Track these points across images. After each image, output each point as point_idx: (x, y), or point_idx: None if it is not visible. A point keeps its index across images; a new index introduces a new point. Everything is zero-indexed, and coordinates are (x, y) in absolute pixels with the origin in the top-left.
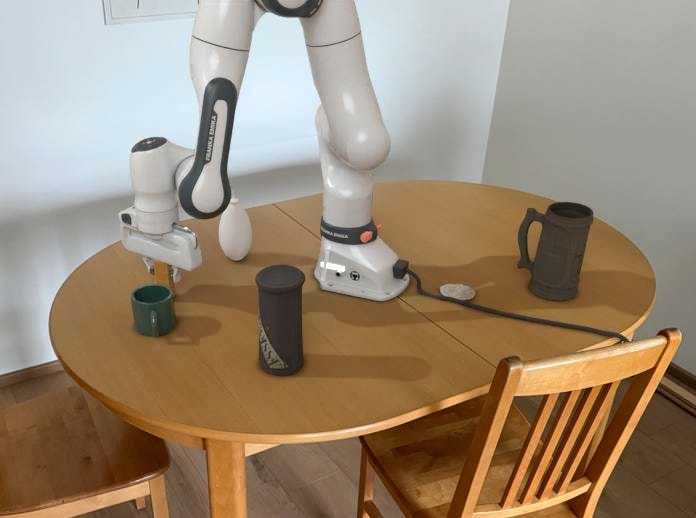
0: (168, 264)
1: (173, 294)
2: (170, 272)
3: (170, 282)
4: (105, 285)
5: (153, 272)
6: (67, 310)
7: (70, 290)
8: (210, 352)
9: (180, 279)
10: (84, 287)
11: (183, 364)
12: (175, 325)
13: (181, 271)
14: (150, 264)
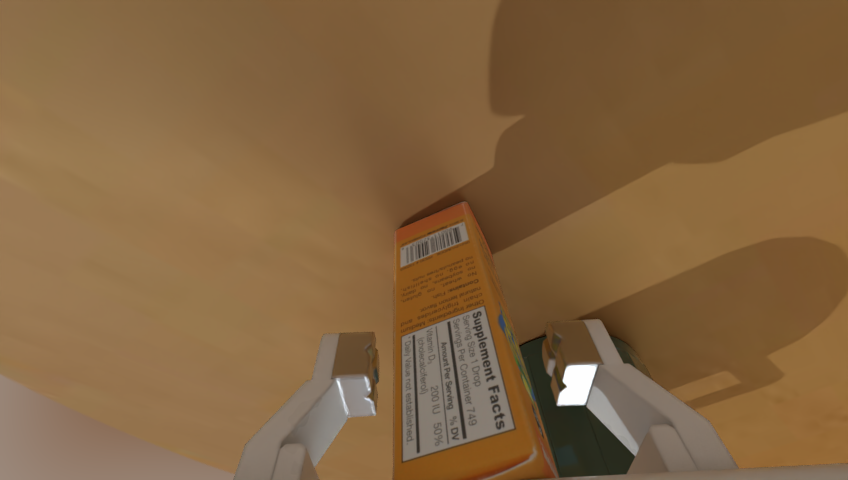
0: (556, 469)
1: (480, 231)
2: (522, 369)
3: (509, 319)
4: (110, 322)
5: (376, 378)
6: (232, 458)
7: (79, 405)
8: (841, 383)
9: (600, 323)
10: (79, 372)
11: (764, 442)
12: (639, 358)
13: (651, 382)
14: (334, 422)
